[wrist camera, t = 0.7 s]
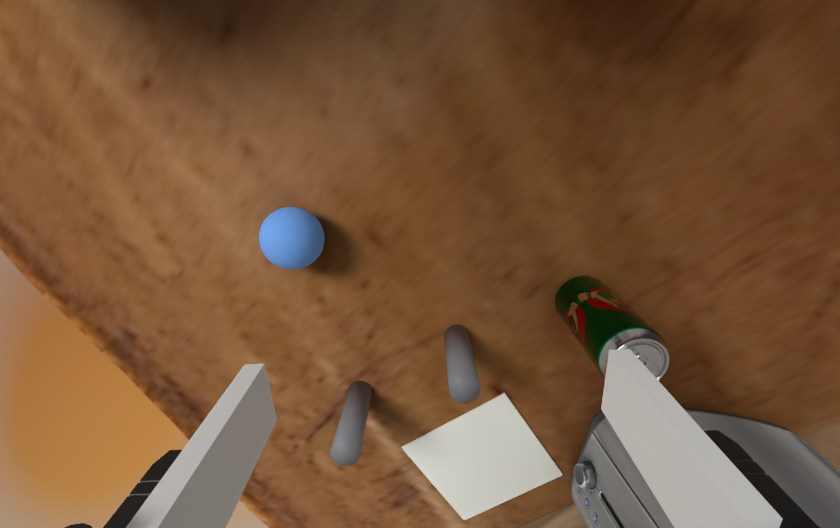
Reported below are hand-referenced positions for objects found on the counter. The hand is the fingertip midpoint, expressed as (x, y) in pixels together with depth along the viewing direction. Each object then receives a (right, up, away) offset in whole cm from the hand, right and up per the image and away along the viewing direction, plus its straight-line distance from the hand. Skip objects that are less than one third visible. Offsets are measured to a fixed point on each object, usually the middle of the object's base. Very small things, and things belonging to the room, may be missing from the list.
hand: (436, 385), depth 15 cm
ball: (-12, +7, +20) cm, 24 cm away
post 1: (-7, -10, +29) cm, 31 cm away
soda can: (+15, +1, +25) cm, 29 cm away
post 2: (+3, -3, +26) cm, 27 cm away
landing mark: (+7, -19, +32) cm, 37 cm away
